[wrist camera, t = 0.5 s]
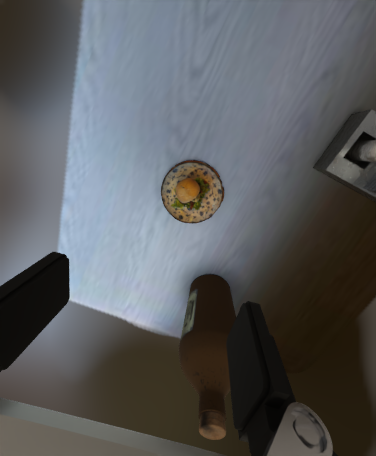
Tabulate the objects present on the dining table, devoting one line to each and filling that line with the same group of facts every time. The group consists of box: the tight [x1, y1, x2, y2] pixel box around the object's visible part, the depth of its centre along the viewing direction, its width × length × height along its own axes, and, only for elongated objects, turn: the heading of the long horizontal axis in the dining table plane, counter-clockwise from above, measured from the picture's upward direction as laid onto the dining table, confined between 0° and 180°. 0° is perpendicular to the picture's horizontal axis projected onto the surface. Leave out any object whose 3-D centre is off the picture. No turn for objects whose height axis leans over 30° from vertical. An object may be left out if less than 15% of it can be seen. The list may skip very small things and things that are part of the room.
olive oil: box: [179, 274, 236, 440], centre depth 34 cm, size 11×11×25 cm
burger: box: [161, 160, 224, 223], centre depth 34 cm, size 12×12×8 cm
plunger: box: [345, 140, 376, 162], centre depth 27 cm, size 4×4×8 cm
